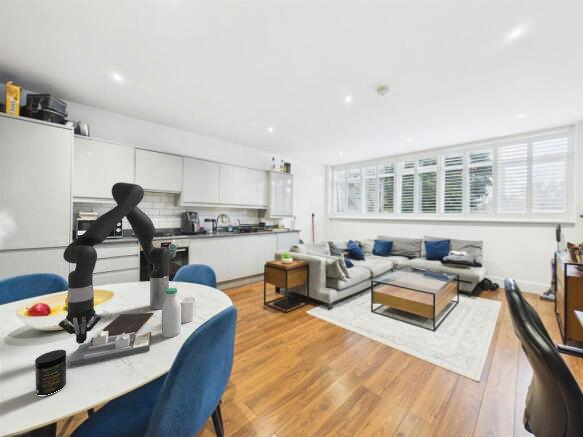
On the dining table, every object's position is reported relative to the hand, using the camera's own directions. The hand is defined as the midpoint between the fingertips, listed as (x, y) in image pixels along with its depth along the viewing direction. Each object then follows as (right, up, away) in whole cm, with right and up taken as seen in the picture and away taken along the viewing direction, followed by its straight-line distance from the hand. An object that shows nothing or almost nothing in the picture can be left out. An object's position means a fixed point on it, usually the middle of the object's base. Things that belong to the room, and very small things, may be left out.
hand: (81, 342), depth 93 cm
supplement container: (+7, -5, -19) cm, 21 cm away
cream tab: (+5, -2, +3) cm, 6 cm away
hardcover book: (+3, -4, +20) cm, 21 cm away
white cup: (+28, -4, +29) cm, 41 cm away
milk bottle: (+27, -4, +16) cm, 31 cm away
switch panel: (+11, -4, +2) cm, 12 cm away
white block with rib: (+15, -2, +1) cm, 15 cm away
